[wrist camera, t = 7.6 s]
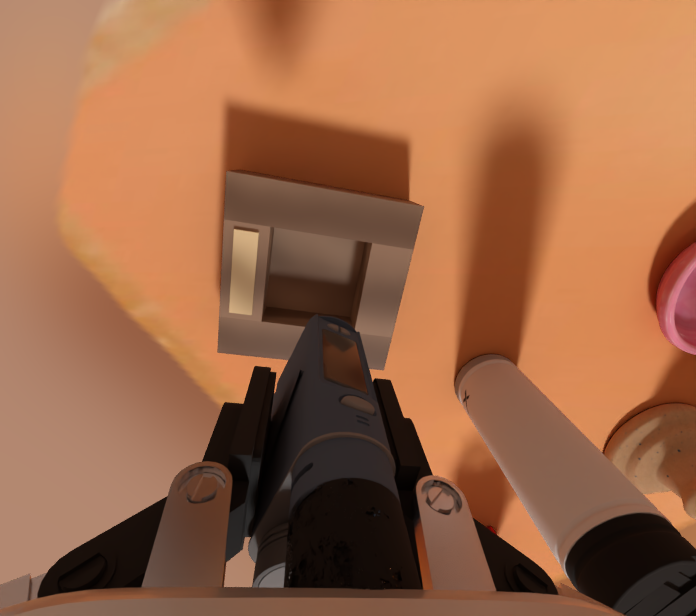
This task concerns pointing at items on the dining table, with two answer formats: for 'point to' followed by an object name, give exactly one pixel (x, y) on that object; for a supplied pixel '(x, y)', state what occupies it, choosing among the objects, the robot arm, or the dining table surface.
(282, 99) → the dining table surface
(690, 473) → the candle holder
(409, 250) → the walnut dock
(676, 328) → the saucer
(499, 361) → the travel mug
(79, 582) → the robot arm
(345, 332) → the vaping device
